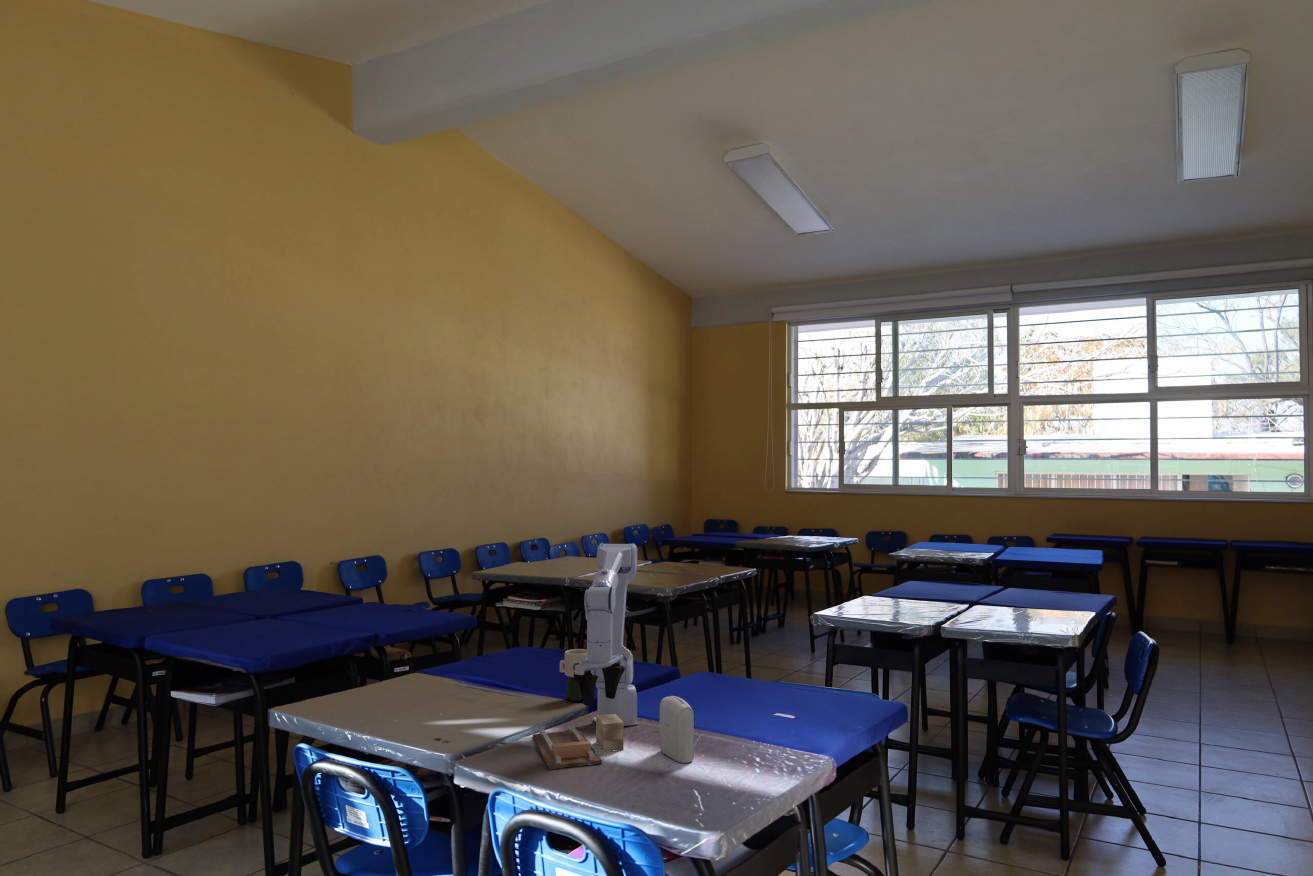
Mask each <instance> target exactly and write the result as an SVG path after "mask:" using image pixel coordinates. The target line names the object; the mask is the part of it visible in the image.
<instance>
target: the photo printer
mask: <svg viewBox="0 0 1313 876" xmlns="http://www.w3.org/2000/svg"><path fill="white" fill-rule="evenodd" d="M694 717H695V716H694V710H693V709H692V707H691V706H690V704H689V703H688V702H687V701H686V700H684V699H683V698H682V697H679V696H675V695H670V696H666V697H663V698H662V699H661V701H660V703H659V749H660V751H661V752H662V753H663V754H665V755H666V756H668V757H669V758H670V759H672V760H674V761H676V762H678V763H681V764H687V763H691V762H693V760H695V759H694V758H695V737H694V735H695V727H694V726H695V725H694V724H695V723H694V720H695V719H694Z"/></svg>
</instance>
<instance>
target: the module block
mask: <svg viewBox="0 0 1313 876" xmlns="http://www.w3.org/2000/svg"><path fill="white" fill-rule="evenodd" d="M595 717H596V722H595V723H596V724H595V725H596V726H595V728H596V729H595V732H596V733H595V743H596V742H597V743H598V744H597V743H596V744H597V745H598V746H600V747H601V748H600V747H599V748H600V749H601V750H603V751H609V752H614V751H613V750H619V751H624V737H625V735H624V732H625V731H624V727H625V726H624V722H623V721H622V720H621V719H620V718H619V717H618V716H617V715H616V714H610V715H599V716H598V715H596V716H595ZM603 751H602V752H603Z"/></svg>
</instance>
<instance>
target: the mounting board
mask: <svg viewBox="0 0 1313 876" xmlns="http://www.w3.org/2000/svg"><path fill="white" fill-rule="evenodd" d="M576 730H577V731H578V733H579V734H580V735H581V737H582V738H583V739H584V741H588V739H587V738H586V737H585V736H584V734H583V733H582V731H581V730H579V729H576ZM546 733H547V735H548V737H549V738H550V740H551V742H552V743H553V744H560V743H570V742H576V740H575V739H574V738H573V736H572V735H571V733H570V732H569V730H565V731H555V732H554V731H553V732H546ZM532 740H533V741H534V744H535V745H536V747H537V749H538V751H539V753H540V755H541V756H542V758H543V760H544V762H545V764H546V766H547V768H548V767H549V768H548V769H550V770H557V769H556V768H560V769H565V768H564V767H569V768H573V767H572V766H579V767H581V766H580V765H588V766H590V765H589V764H597V765H603V759H602V758H601V757H600V756H599V755H598V752H597V751H595V749H594V747H593V746H592V745H591V750H592V752H593V753H594V760H589V759H588V758H587V756H582V757H572V758H562V759H561V764H556V763H555V761H554V759H553V757H552V756H551V754H550V752H549V750H548V749H547V747H546V745H545V743H544V742H543V740H542V738H541V736H540V735H539V733H534V734H532Z"/></svg>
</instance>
